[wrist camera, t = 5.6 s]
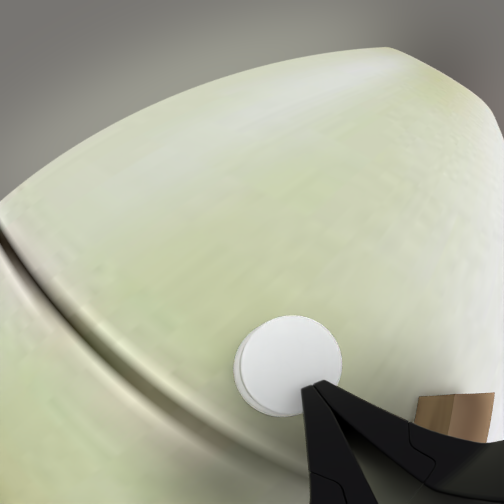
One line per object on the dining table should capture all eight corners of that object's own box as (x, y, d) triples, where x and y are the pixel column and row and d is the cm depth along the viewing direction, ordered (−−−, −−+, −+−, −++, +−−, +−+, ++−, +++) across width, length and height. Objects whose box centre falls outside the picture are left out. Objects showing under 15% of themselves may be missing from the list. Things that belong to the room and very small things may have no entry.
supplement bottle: (273, 324, 19) (293, 280, 12) (322, 370, 18) (375, 357, 10) (221, 371, 18) (204, 362, 10) (271, 421, 16) (293, 447, 9)
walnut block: (458, 396, 16) (494, 392, 12) (448, 447, 14) (483, 451, 10) (418, 396, 17) (454, 394, 13) (406, 451, 15) (441, 460, 11)
